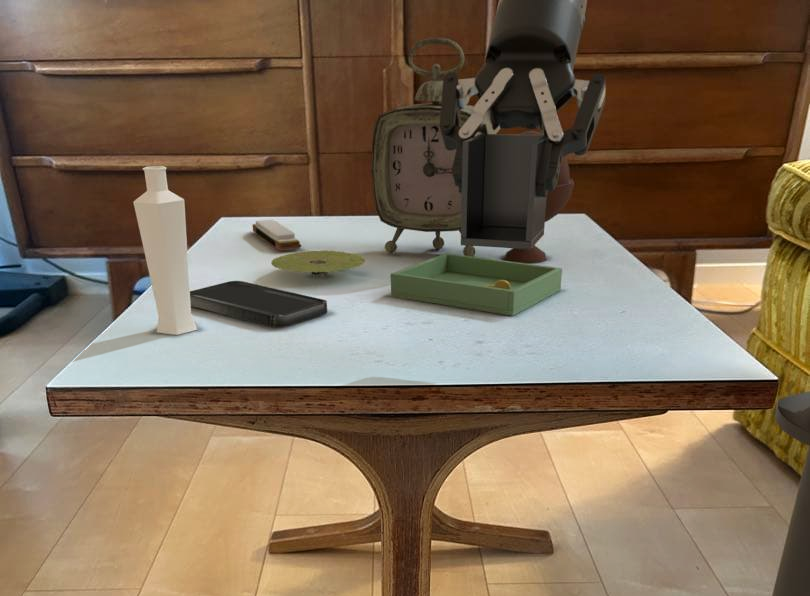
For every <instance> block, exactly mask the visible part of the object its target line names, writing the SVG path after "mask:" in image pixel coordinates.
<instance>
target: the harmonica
mask: <svg viewBox="0 0 810 596" xmlns="http://www.w3.org/2000/svg"><path fill="white" fill-rule="evenodd" d="M252 232H253V233H255V234H256V236H257V237H258V238H260V239H261V240H262V241H264V242H265V243H266V244H268V245H269V246H270V247H271V248H273V249H275V250H278V251H287V250H299V249H301V248H302V245H301V243H300V242H301V241H300V240H299V239H298V238H296V237H295V236H296V235H295V234H296V233H294V231H292V230H291V229H289V228H288V227H286V226H284V225H283V224H281V223H280V222H278V221H276V220H274V219H262V220H256V221H255V223H252Z"/></svg>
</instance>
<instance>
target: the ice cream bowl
mask: <svg viewBox="0 0 810 596" xmlns="http://www.w3.org/2000/svg"><path fill="white" fill-rule="evenodd" d="M516 135H542V134H541V131H535V130H527V131H523V132H521V133H517V134H516ZM574 187H575V181H574V180H573V178H571V175H570V167H569V163H568V158H567V156H565V157H564V158H563V159H562V162H561V167H560V172H559V177H558V182H557V186H556V187H555V189H554V190H553V191H548V193H547V197H546V211H545V223H547V222H549V221H550V220H552V219H553V218H554V217H556V216H557V215H558V214H559V213H560V212H561V211H562V210H563V209H564V208H565V207H566V206H567V204H568V203H569V200H570V199H571V197H572V194H573V190H574ZM504 257H505V258H504V259H505V261H510V262H518V263H526V264H533V263H541V262H544V261H547V255H546V252H545V251H544V250H542V249H541V248H539V247H538V246H536V244H535V245H534V246H533V247H532V248H531V249H517V248H510V249H509V250H508V251H506V253H505V256H504Z"/></svg>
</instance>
